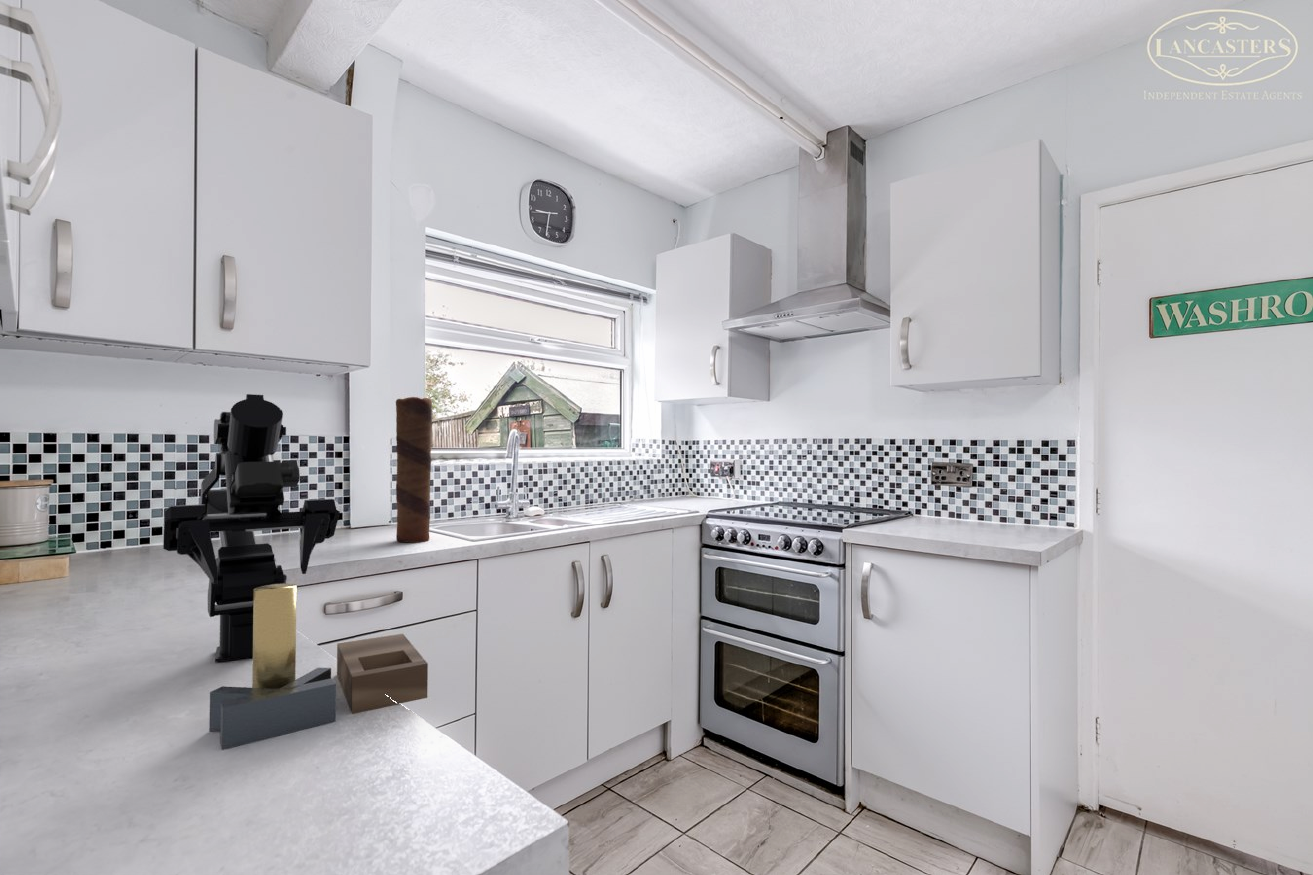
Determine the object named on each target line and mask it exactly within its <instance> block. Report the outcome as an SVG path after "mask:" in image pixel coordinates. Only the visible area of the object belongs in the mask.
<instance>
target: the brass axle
mask: <svg viewBox="0 0 1313 875" xmlns="http://www.w3.org/2000/svg"><path fill="white" fill-rule="evenodd" d="M297 592H298V591H297V584H295V583H286V584H272V585H265V586H261V587H257V588H255V589H254V604H253V657H252V683H251V684H252V687H251V688H269V689H280V688H282V687H283V686H285V685H287V684H289V683H291V682H292V681H294V680H296V672H297V670H296V666H297V664H296V662H297V660H296V657H297V656H296V655H297V652H296V651H297V649H296V648H297V647H296V646H297Z"/></svg>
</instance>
